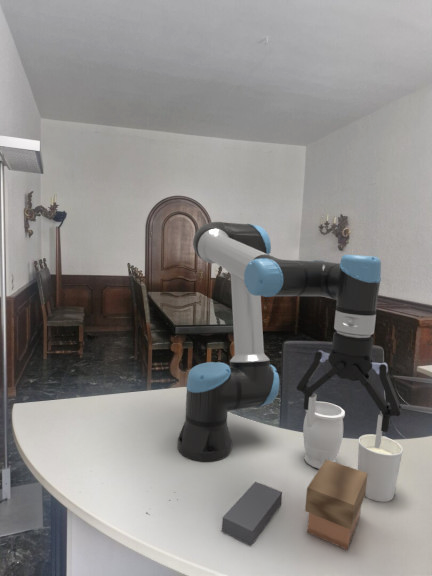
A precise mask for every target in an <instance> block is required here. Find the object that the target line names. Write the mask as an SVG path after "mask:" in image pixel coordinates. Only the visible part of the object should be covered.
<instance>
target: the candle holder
mask: <svg viewBox="0 0 432 576" xmlns="http://www.w3.org/2000/svg"><path fill="white" fill-rule="evenodd" d="M375 439H376V434H369V433H368V434H363V435H361V436H359V437H358V440H357V441H358V445H357V447H358V448H357V450H358V451H357V470H359V471H362V472H365V473H368V474H367V483H366V493H365V497H366V498H367V499H369V500H371V501H374V502H375V501H376V502H380V503H381V502H382V503H385V502H387V503H388V502H389V501H392V500H393V499H394V497H395V492H396V487H397V482H398V477H399V471H400V467H401V466H400V465H401V461H402V454H403V452H404V449H403V446H402V445H401V444H400V443H398V442H397V441H396V440H394V439H391V438H389V437H387V436H383V435H382V438H381V444H380V447H379V449H378V448H374V447H375ZM365 497H364V498H365Z"/></svg>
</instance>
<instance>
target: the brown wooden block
mask: <svg viewBox="0 0 432 576" xmlns="http://www.w3.org/2000/svg"><path fill="white" fill-rule="evenodd" d="M367 474H368V473H365V472H362V471H359V470H358V469H356V468H353V467H349V466H347V465H344V464H341V463H338V462H336V463H335V462H332V461H329V460H325V462H324V463H323V465H322V466H321V468H320V469H318V471H317V472H316V474H315V475H314V477H313V478H312V479H311V481H310V483H309V484H308V486H307V487H306V494H305V495H306V496H305V509H304V511H305V512H306V513H308V514H309V513H311V514H313V515H316V516H318V517H321V518H323V519H326V520H328V521H331V522H333V523H336V524H338V525H340V526H343V527H345V528H348V529H350V530H352V527H353V525H354V522H355V519H356V517H357V514H358V512H359V509H360V507H361V508H362V504H363V502H364V499H365V493H366V483H367Z"/></svg>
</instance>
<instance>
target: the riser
mask: <svg viewBox="0 0 432 576" xmlns="http://www.w3.org/2000/svg"><path fill="white" fill-rule="evenodd" d="M282 498H283V491H280V490H278V489H275V488H272V487H270V486H268V485H265V484H263V483H260V482H258V481H254V482H253V483H252V484H251V486H250V487H248V489H247V490H246V491H245V492H244V493H243V494H242V496H240V498H238V500H237V501H236V502H235V503H234V504H233V505H232V506H231V507H230V509H228V511H227V512H226V513H225V514H224V515H223V516H222V519H221V532H222V533H224V534H227V536H230V537H232V538H235V539H237V540H238V541H241V542H243V543H244V544H246V545H249V546H253V544H254V543H255V541H256V540H257V539H258V537H259V535H261V533H262V532H263V530H264V529H265V528H266V526H267V525H268V524H269V522H270V521H271V519H273V517H274V515H276V513H277V511H278V510H279V508H280V507H281V505H282Z"/></svg>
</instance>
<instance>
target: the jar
mask: <svg viewBox="0 0 432 576" xmlns="http://www.w3.org/2000/svg"><path fill="white" fill-rule="evenodd" d="M307 415H308V410H305V417H304V420H303V426H302V430H303V431H302V433H303V435H302V436H303V445H304V446H303V447H304V450H305V454H304V461H305V462H306V463H307V464H308V465H309V466H311V467H313V468H315V469H318V470H319V469H320V468H321V466H322V465H323V463H324V462H325V460H329V461H332V462H335V463H337V461H336V458H337V457H338V454H339V452H340V449H341V445H342V441H343V439H344V438H343V436H344V420H343V419H344V418H345V415H346V411H345V410H344V409H343V408H342V407H341V406H339V405H336V404H335V403H330V402H326V401H316V406H315V417H314V424H313V425H312V426H311V427H310V428H309V427H306V425H307Z"/></svg>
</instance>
